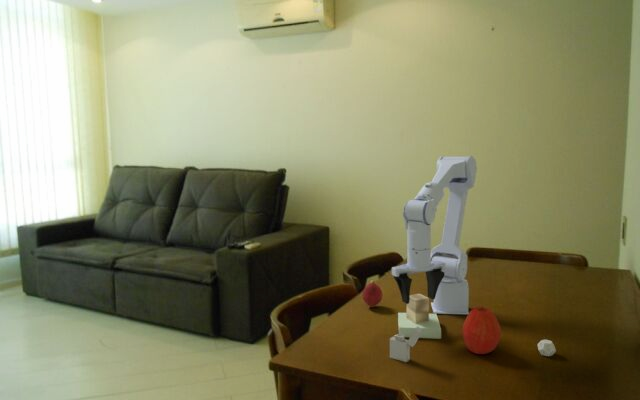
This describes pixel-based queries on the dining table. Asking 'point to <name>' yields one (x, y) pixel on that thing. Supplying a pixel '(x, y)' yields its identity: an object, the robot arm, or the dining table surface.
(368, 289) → the onion
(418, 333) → the lighter
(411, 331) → the stacking block
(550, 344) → the game die
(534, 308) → the dining table surface
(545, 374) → the dining table surface
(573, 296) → the dining table surface
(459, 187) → the robot arm
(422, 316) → the beech block
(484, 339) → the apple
